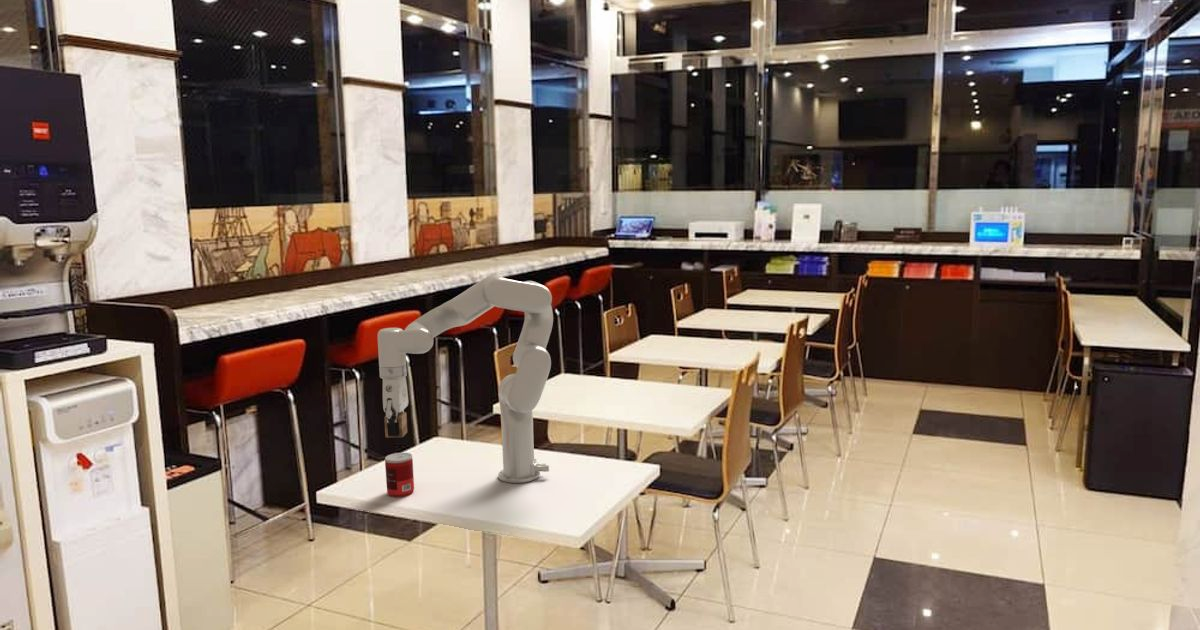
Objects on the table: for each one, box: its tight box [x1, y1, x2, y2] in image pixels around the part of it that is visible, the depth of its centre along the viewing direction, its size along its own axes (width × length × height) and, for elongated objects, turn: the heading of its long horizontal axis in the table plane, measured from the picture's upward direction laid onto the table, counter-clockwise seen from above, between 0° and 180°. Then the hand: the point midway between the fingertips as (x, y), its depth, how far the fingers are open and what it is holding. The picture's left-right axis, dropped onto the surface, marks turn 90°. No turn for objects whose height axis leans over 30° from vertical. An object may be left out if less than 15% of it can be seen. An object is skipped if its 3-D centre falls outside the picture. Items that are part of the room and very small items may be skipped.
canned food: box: [384, 452, 415, 498], centre depth 250 cm, size 8×8×11 cm
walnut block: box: [383, 411, 408, 438], centre depth 248 cm, size 5×5×6 cm
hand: (396, 432), depth 248 cm, fingers closed on walnut block, 5 cm apart
